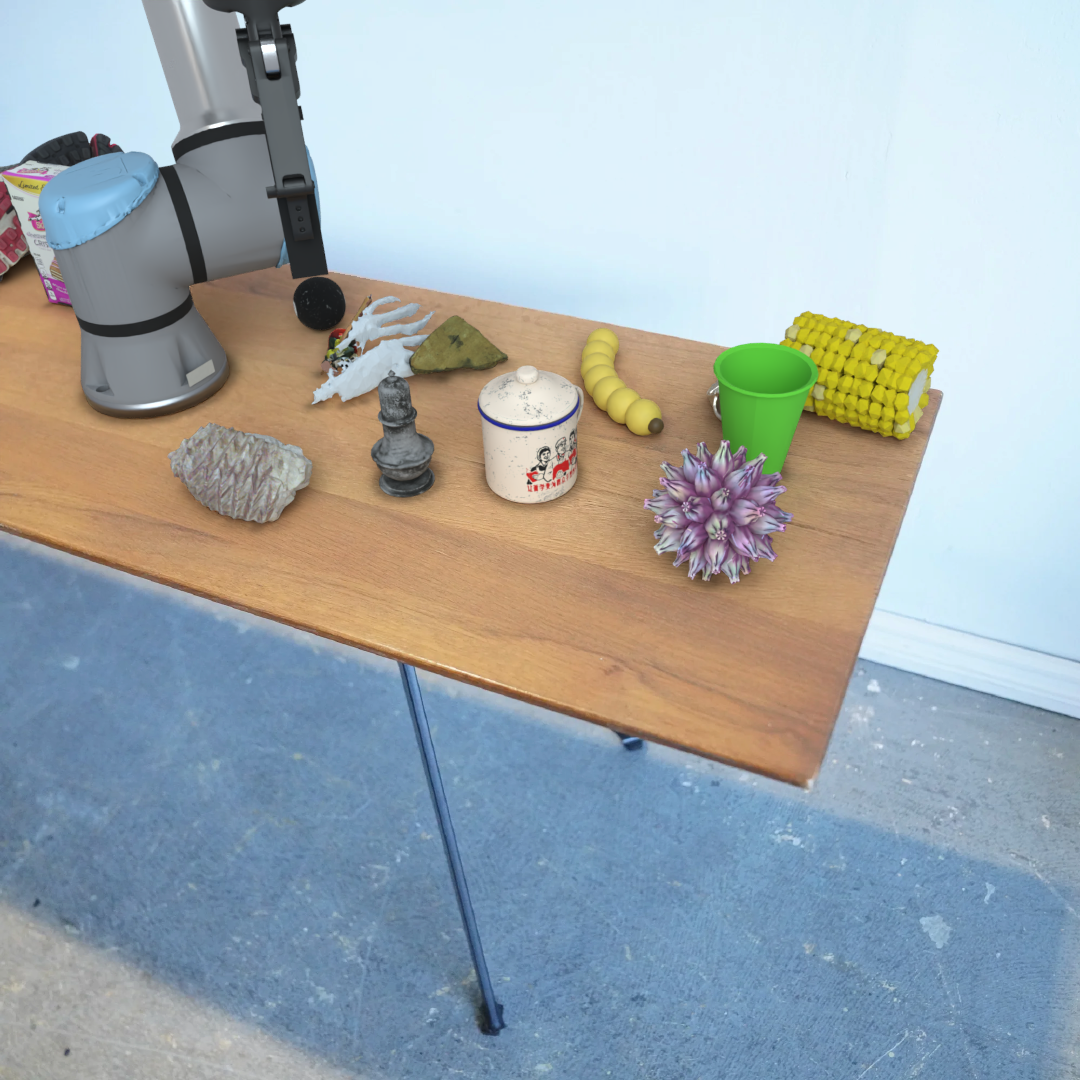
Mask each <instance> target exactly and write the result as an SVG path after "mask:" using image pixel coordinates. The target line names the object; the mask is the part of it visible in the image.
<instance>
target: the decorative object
mask: <svg viewBox="0 0 1080 1080" xmlns="http://www.w3.org/2000/svg"><path fill="white" fill-rule="evenodd" d="M395 302H399V303H402V302H401V299H400V298H399V297H396V296H393V295H387V296H384V297H381V298H378V299H376V300H375V301H372V302H371V303H370V305H369V306H368V307H366V308H365V310H363V315H362V317H358V321H353V323H352V330H351V331H350V332H349V336H348V338H346V339H345V340H343V341H342V342H341V343H340V344H339V345H338V346H336V347H335V348H339V350H340V351H341V350H343V349H345V348H347V347H348V345H349V344H350V343H351V341H352V340H354V339H355V340H356V342H357V344H355V346H357V350H358V349H359V348H361V353H360V355H359V356H358V357H356V360H355V361H354V362H351V360H350V359H348V360H349V361H350V362H346V361H345V360H344V362H343V361H341V362H339V363H337V364H338V365H340V366H341V364H343V366H344V367H342V368H341V371H340V374H338V375H337V376H334V375H333V374H334V372H333V369H332V368H330V369H329V373H328V372H326V375H327V377H328V379H327V381H326V382H324V383H322V384H321V385H320V388H318V387H316V389H315V390H313V391H312V393H313V399H314V400H313V401H312V403H311V405H314V404H317V403H318V402H321V401H323V402H324V401H327V400H328V399H332V398H333V396H335V394H338V396H339V397H340V399H341V402H343V403H345V402H346V401H349V400H352V399H354V398H357V397H359V396H361V395H364V394H366V393H369V392H371V391H372V390H374V389H376V388H378V385H379V383H380V382H381V381H382V380H383V379H384V378H386V377H389V376H388V373H389V371H390V370H392V371H394V372H395V375H394V376H399V377H402V378H404V379H405V378H410V377H412V376H415V374H413V372H412V371H411V368H410V365H409V359H410V357H411V356H412V355H413V354H414V352H415V351H414V350H410V349H406V348H405V347H410V348H412V347H417V346H420V345H421V344H422V343H423V342H424V341H425V339H426V338H427V337H428V336H429V335H430V334H431V333H429V334H418V332H419V331H422V330H423V329H424V328H425V327H426V326H427V324H428V322H429V321H430V320H432V316H433V315H434V314H435V313H436V312H437V311H436V310H433V311H431V310H430V311H429V313H428V314H425V316H424V317H423V318H422V319H420V320H417V321H415V322H410V323H405V324H401V323H396V324H393V325H389V326H383V325H386V324H389V323H392V322H394V321H398V320H402V319H404V318H407V317H409V318H412V317H413V316H414V315H416V314H417V313H418V310H420V307H422V305H421V304H419V303H417V302H415V303H413V302H410V303H408V304H406V305H403V306H401V307H399V306H398V307H397V309H393V310H391V311H387V312H384V313H378V314H373V313H374V311H375V310H376V308H378V307H379V306H384V305H385V304H391V303H395ZM398 334H401V335H406V336H403V337H400V338H392V339H389V340H386V339H383V340H382V339H381V340H380V341H379V345H377V346H374V347H373V348H370V349H369V350H367V351H366V352H365V353H364V354H363V351H364V349H365V347H366V345H367V342H368V341H369V340H370V341H371V342H373V341H375V340H377V339H379V338H382V337H389V336H396V335H398ZM415 334H416V335H415ZM358 343H359V345H358ZM342 359H345V357H343V358H342ZM346 364H347V365H348V368H347V367H346V366H345V365H346ZM346 368H347V369H346ZM334 371H336V372H339V370H338V371H337V370H334Z"/></svg>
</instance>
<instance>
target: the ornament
mask: <svg viewBox="0 0 1080 1080" xmlns="http://www.w3.org/2000/svg"><path fill="white" fill-rule="evenodd" d="M706 396H707V400H708V402H709V404H710V406H711V407H712V409H713V414H714V416H715V417H716V418H717V420H719V422H722V421H721V409H720V397H719V385H718V379H717V380H716V381H715V382H714V383H712V384H711V385H710V386H709V388H708V389H707V391H706Z"/></svg>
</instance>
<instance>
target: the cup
mask: <svg viewBox="0 0 1080 1080" xmlns="http://www.w3.org/2000/svg"><path fill="white" fill-rule="evenodd" d="M779 344H780V343H779ZM779 344H778V343H772V342H747V343H743V344H738V345H735V346H732V347H729V348H728V349H726V350H724V351H723V352H721V353H720V354H719V355H718V356H717V357H716V358H715V360H714V363H713V365H712V367H713V374H714V375H715V377H716V379H717V380H718V385H719V397H720V409H721V421H720V422H721V430H722V431H721V432H722V440H726V441H728V440H729V442H730V450H731V453H732V455H734V454H735V453H736V452H737V451H738V449H739V447H740V446H742V445H743V446H745V448H747V453H746V462H748V461H751V460H754V459H755V458H756V457H758V455H759V454H760V453H763V454H765V456H767V459H766V461H765V462H764V464H763V470H762V474H773V473H776V472H779V474H781V472H782V470H783V467H784V464H785V461H786V458H787V456H788V453H789V450H790V447H791V444H792V442H793V439H794V436H795V433H796V430H797V428H798V424H799V422H800V419H801V416H802V413H803V408H804V405H805V402H806V399H807V396H808V393H809V391H810V388H811V387H812V386H813V385H814V384H815V382H816V381H817V379H818V375H819V374H818V369H817V366H816V364H815V363H814V362H813V360H812V359H811V358H810V357H808V356H807V355H806V354H804V353H802V352H800V351H798V350H796V349H794V348H791V347H788V346H784V345H779Z"/></svg>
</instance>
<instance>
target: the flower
mask: <svg viewBox="0 0 1080 1080" xmlns="http://www.w3.org/2000/svg"><path fill="white" fill-rule="evenodd" d="M746 453H747V448H745V446H743V445H742V446H740V447H739V449H738V451H737V452H736V453H735V454H734V455H732V453H731V450H730V442H729V440H728V441H726V440H723V439H721V440H720V443H719V447H718V449H717V451H716V452H715V453H714V454H712V453H711V452H710V450H709V449H708V447H707V444H706V442H705V441H702V442H697V443H696V454H693V453H691V452H690V450H689V449H688V448H687V447H686V448H685V449H682V450H681V451H680V455H681V456H682V459H683V463H682V464H683V465H680V466H679V467H678V466H675V465H672V464H671V463H670V462H668V461H667V460H662V462H661V464H659V467H660V469H661V470H662V471H663V472H664V473H665V475H666V477H665V476H663V477H661V476H660V477H659V479H658V480H659V484H660V485H661V486H662V487H664V489H658V488H654V489H652V497H653V498H645V499H644V501H643V503H644V504H643V509H644V510H648V511H652V512H653V513H654V514H655V515H654V520H653V521H654V522H655V523H656V524H661V525H660V527H659V528H658V529H656V530H654V531H653V536H654V539H655V540H659V541H658V542H657V543H656V544H655V545H654V546H653V550H655V553H656V554H657V556H662V555H663V554H666V553H669V552H675V553H676V557H675V559H674V561H673V562H672V566H673V567H675V568H679V566H681V564H683V563H685V562H688V569H689V570H688V573H687V577H688V578H690V580H691V581H693V580H694V578H695V577H696V576H697V574H698V573H700V571H701V572H702V579H701V580H702V581H705V582H707V581H708V582H710V581H711V578H712V575H713V574H714V575H717V574H720V573H721V571H722V572H723V573H724V574H725V575H726V576H727V577H728V579H729V582H730V584H731V585H735V584H736V583H737V582H738V583H740V573H742V574H743V575H744V576H745V575H749V574H750V573H751V572H752V569H751V566H750V561H751V560H752V561H753V562H755V563H758V562H759V561H760V560H759V559H761V558H763V559H767V560H769V561H770V562H772V563H773V562H774V561H775V560H776V559H777V558H778V557H779V556H778V554H777V553H776V552H775V551H774V549H773V547H772V543H773V540H774V538H773V537H772V536H770V535H769V534H772V533H776V532H780V533H785V532H786V530H787V524H786V523H791V522H793V520H792V519H793V518H795V517H794V513H792V512H787V511H785V510H783V509H781V508H780V507H779V506H777V505H776V504H777V498H778V497H779V496H780V495H782V494H784V493H785V492H787V491H788V488H787V487H786V485H777V484H778V483H779V482H780V481H781V480H783V476H782V474H781V473H780V474H779V472H776V473H773V474H762V470H763V464H764V462H765V461H766V459H767V456H765V454H763V453H760V454H759V455H758V457H756V458H755V459H754V460H751V461H748V462H746ZM776 485H777V486H776Z"/></svg>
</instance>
